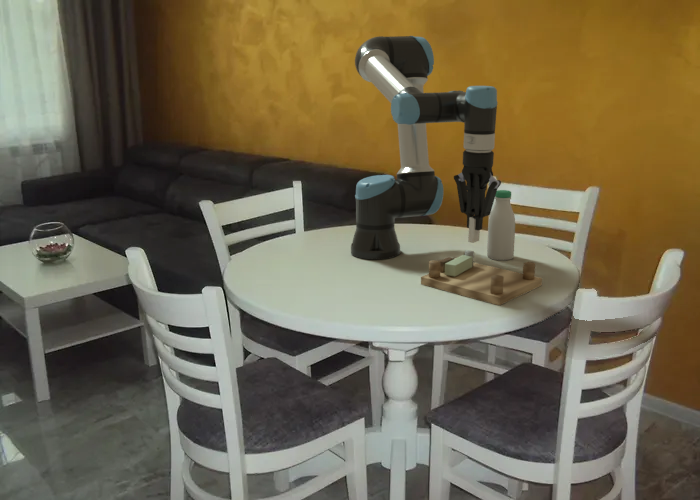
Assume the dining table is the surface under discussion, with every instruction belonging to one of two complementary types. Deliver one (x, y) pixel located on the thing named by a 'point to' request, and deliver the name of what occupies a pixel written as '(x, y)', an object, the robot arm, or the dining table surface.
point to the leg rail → (460, 264)
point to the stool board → (483, 281)
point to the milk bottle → (501, 228)
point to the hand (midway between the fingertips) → (473, 241)
